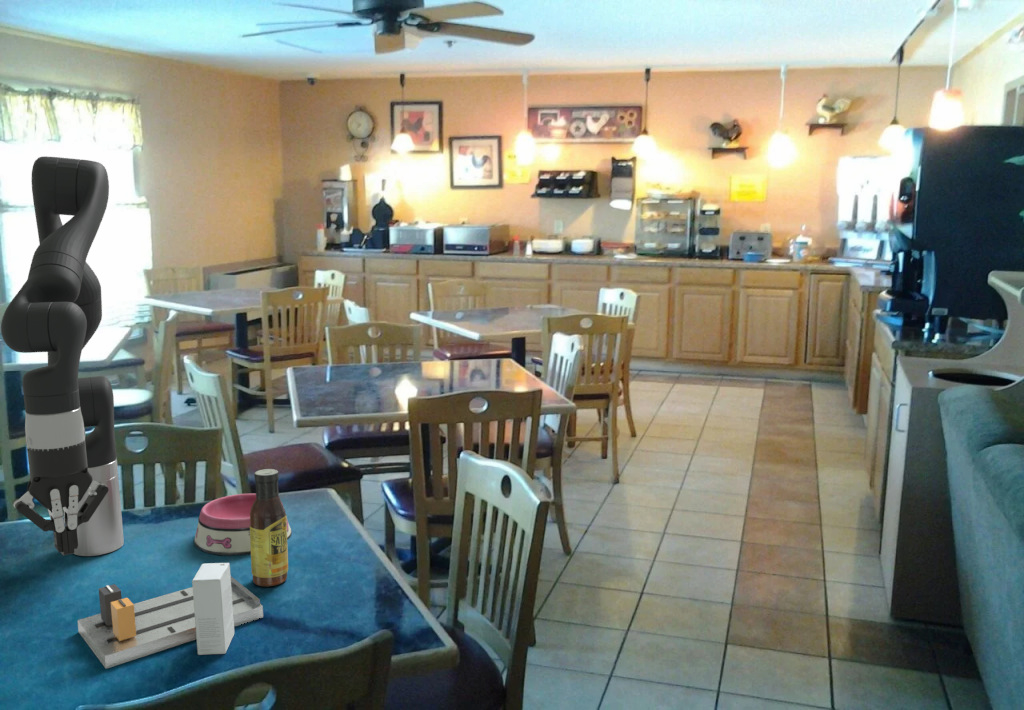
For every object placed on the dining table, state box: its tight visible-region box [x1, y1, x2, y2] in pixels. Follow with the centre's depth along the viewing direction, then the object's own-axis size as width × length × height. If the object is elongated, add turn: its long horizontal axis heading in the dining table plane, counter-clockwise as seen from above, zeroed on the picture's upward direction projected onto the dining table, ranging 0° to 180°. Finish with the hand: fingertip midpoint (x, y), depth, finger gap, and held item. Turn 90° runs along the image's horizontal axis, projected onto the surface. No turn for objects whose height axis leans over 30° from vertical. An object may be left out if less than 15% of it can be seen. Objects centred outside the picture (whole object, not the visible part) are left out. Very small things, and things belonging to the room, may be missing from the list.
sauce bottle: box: [250, 468, 289, 588], centre depth 153 cm, size 7×6×20 cm
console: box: [77, 575, 264, 670], centre depth 138 cm, size 14×24×3 cm, turn 131°
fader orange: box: [111, 597, 136, 641], centre depth 131 cm, size 3×2×5 cm
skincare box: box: [191, 562, 235, 656], centre depth 132 cm, size 6×4×12 cm
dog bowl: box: [193, 493, 292, 557], centre depth 174 cm, size 18×19×7 cm
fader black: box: [98, 584, 123, 626], centre depth 135 cm, size 3×2×5 cm
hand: (67, 552), depth 130 cm, fingers closed
